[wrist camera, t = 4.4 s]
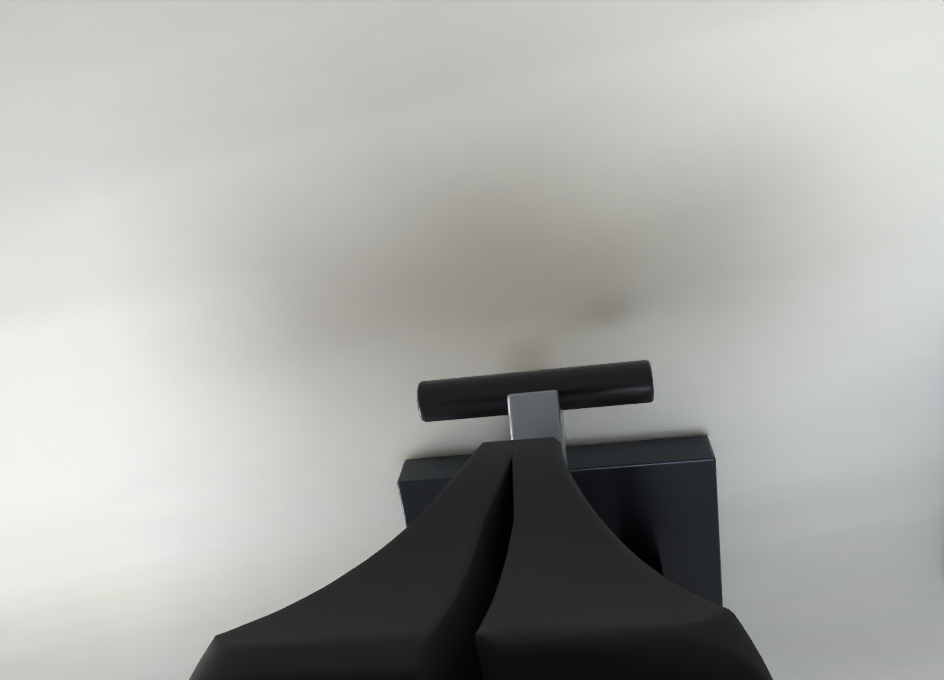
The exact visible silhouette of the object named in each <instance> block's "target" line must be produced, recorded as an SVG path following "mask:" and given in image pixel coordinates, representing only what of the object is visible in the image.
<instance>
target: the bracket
mask: <svg viewBox="0 0 944 680" xmlns="http://www.w3.org/2000/svg"><path fill="white" fill-rule="evenodd" d="M566 451H567V461H568V469H569V471H570V473H571V475H572V477H573V479H574V481H575V482H576V484H577V485H578V487H579V489H580V490H581V492H582V494H583V495H584V497H585V498H586V500H587V501H588V503H589V504H590V505H591V507H592V508H593V509H594V511H595V512H596V513H597V515H598V516H599V517H600V519H601V520H602V521H603V522H604V523H605V525H606V526H607V527H608V528H609V529H610V530H611V531H612V533H613V534H614V535H615V536H616V537H617V538H618V539H619V540H620V541H621V542H622V543H623V544H624V545H625V546H626V547H627V548H628V549H629V550H631V551H632V552H633V553H634V554H635V555H636V556H637V557H638V558H639V559H641V560H642V561H643V562H644V563H646V564H647V565H648V566H650V567H651V568H652V569H654V570H655V571H657V572H658V573H659V574H661V575H662V576H663V577H665V578H667V579H668V580H670V581H672V582H673V583H675V584H677V585H678V586H680V587H682V588H684V589H685V590H687V591H689V592H691V593H693V594H695V595H698V596H700V597H702V598H704V599H707V600H709V601H711V602H713V603H715V604H718V605H720V606H722V607H723V602H722V581H721V560H720V540H719V519H718V499H717V478H716V459H715V456H714V453H713V450H712V447H711V444H710V441H709V438H708V436H694V437H682V438H669V439H657V440H644V441H632V442H620V443H607V444H595V445H582V446H570V447H566ZM471 456H472V454H471V455H458V456H446V457H434V458H421V459H409V460H405V462H404V465H403V468H402V471H401V473H400V476H399V479H398V482H397V485H398V490H399V495H400V499H401V504H402V509H403V514H404V518H405V523H406V528H407V527H408V526H409V525H410V524H411V523H412V522H413V521H414V520H415V519H416V518H417V517H418V516H419V515H420V514H421V513H422V512H423V511H424V510H425V509H426V508H427V507H428V506H429V505H430V504H431V503H432V502H433V501H434V500H435V499H436V498H437V496H438V495H439V494H440V493H441V492H442V491H443V490H444V488H445V487H446V486H447V485H448V484H449V483H450V481H451V480H452V479H453V478H454V477H455V475H456V474H457V473H458V472H459V471H460V469H461V468H462V467H463V466H464V464H465V463H466V462H467V461H468V459H469V458H470V457H471Z"/></svg>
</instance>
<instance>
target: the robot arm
mask: <svg viewBox="0 0 944 680" xmlns="http://www.w3.org/2000/svg"><path fill="white" fill-rule="evenodd" d="M189 680H773V679H772V677H771V675H770V673H769V671H768V669H767V667H766V665H765V663H764V661H763V659H762V657H761V656H760V654H759V652H758V650H757V649H756V647H755V645H754V644H753V642H752V640H751V639H750V637H749V636H748V634H747V632H746V631H745V629H744V628H743V626H742V625H741V623H740V622H739V620H738V619H737V617H736V616H735V614H734V613H733V612H732V611H730V610H729V609H727V608H724V607H722V606H720V605H718V604H715V603H713V602H711V601H709V600H707V599H704V598H702V597H700V596H698V595H695V594H693V593H691V592H689V591H687V590H685V589H684V588H682V587H680V586H678V585H677V584H675V583H673V582H672V581H670V580H668V579H667V578H665V577H663V576H662V575H661V574H659V573H658V572H657V571H655V570H654V569H652V568H651V567H650V566H648V565H647V564H646V563H644V562H643V561H642V560H641V559H639V558H638V557H637V556H636V555H635V554H634V553H633V552H632V551H631V550H629V549H628V548H627V547H626V546H625V545H624V544H623V543H622V542H621V541H620V540H619V539H618V538H617V537H616V536H615V535H614V534H613V533H612V531H611V530H610V529H609V528H608V527H607V526H606V525H605V523H604V522H603V521H602V520H601V519H600V517H599V516H598V515H597V513H596V512H595V511H594V509H593V508H592V507H591V505H590V504H589V503H588V501H587V500H586V498H585V497H584V495H583V494H582V492H581V490H580V489H579V487H578V485H577V484H576V482H575V481H574V479H573V477H572V475H571V473H570V471H569V469H568V467H567V465H566V463H565V460H564V458H563V455H562V448H561V442H560V441H558V440H557V439H556V438H555V437H543V438H531V439H519V440H507V441H495V442H483V443H482V444H481V445H480V446H479V448H478V449H477V450H476V451H475V452H474V453H473V454H472V456H471V457H470V458H469V459H468V461H467V462H466V463H465V464H464V466H463V467H462V468H461V469H460V471H459V472H458V473H457V474H456V475H455V477H454V478H453V479H452V480H451V481H450V483H449V484H448V485H447V486H446V487H445V488H444V490H443V491H442V492H441V493H440V494H439V495H438V496H437V498H436V499H435V500H434V501H433V502H432V503H431V504H430V505H429V506H428V507H427V508H426V509H425V510H424V511H423V512H422V513H421V514H420V515H419V516H418V517H417V518H416V519H415V520H414V521H413V522H412V523H411V524H410V525H409V526H408V527H407V528H406V529H405V530H404V531H402V532H401V533H400V534H399V535H398V536H397V537H395V538H394V539H393V540H392V541H391V542H389V543H388V544H387V545H386V546H384V547H383V548H382V549H380V550H379V551H378V552H377V553H375V554H374V555H373V556H371V557H370V558H369V559H367V560H366V561H364V562H363V563H361V564H360V565H358V566H357V567H355V568H354V569H352V570H350V571H349V572H347V573H346V574H344V575H343V576H341V577H340V578H338V579H337V580H335V581H334V582H332V583H330V584H329V585H327V586H325V587H324V588H322V589H320V590H318V591H316V592H314V593H313V594H311V595H309V596H307V597H305V598H303V599H301V600H299V601H297V602H295V603H293V604H291V605H289V606H287V607H285V608H283V609H281V610H279V611H277V612H274V613H272V614H270V615H267V616H265V617H263V618H260V619H258V620H255V621H253V622H250V623H248V624H245V625H243V626H240V627H238V628H235V629H233V630H230V631H228V632H225V633H222V634H219V635H216V636H215V638H214V639H213V641H212V642H211V644H210V645H209V647H208V648H207V650H206V652H205V653H204V655H203V656H202V658H201V659H200V661H199V663H198V664H197V666H196V668H195V670H194V672H193V674H192V676H191V677H190V679H189Z"/></svg>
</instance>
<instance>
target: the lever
mask: <svg viewBox="0 0 944 680" xmlns="http://www.w3.org/2000/svg"><path fill="white" fill-rule="evenodd" d="M653 399H654V387H653V377H652V370H651V365H650V362H649V361H648V360H640V361H630V362H619V363H609V364H598V365H588V366H577V367H567V368H556V369H546V370H535V371H525V372H514V373H504V374H493V375H483V376H472V377H462V378H451V379H441V380H430V381H422V382H420V383H419V386H418V391H417V402H418V409H419V414H420V416H421V419H422V420H423V421H425V422H432V421H443V420H455V419H466V418H478V417H489V416H500V415H509V425H510V436H511V440H519V439H531V438H543V437H555V438H556V439H557V440H558V441H560V442H561V448H562V455H563V458H564V460H565V463H566V465H567V467H568V461H567V451H566V440H565V430H564V420H563V410H569V409H580V408H592V407H603V406H615V405H626V404H638V403H649V402H652V401H653Z"/></svg>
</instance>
